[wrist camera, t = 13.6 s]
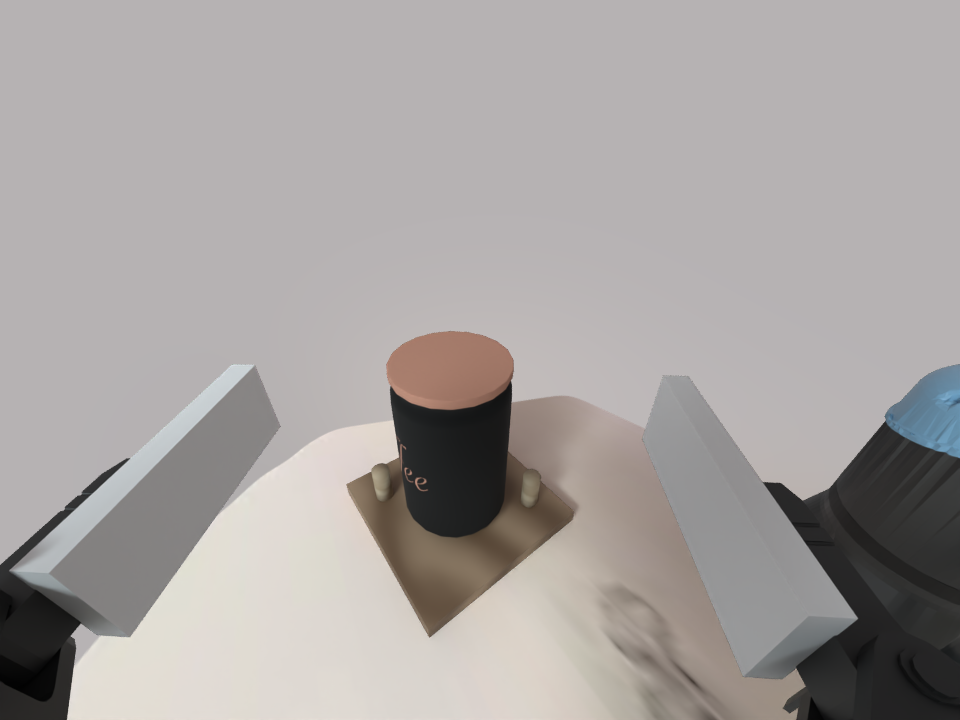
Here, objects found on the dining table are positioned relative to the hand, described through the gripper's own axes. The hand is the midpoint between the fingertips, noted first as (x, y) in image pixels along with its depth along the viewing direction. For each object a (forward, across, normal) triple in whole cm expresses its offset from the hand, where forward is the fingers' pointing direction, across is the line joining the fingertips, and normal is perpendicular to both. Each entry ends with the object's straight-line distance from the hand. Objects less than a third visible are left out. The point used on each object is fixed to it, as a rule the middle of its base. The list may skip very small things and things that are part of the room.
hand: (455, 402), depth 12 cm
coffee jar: (+16, -3, -27) cm, 32 cm away
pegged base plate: (+16, -3, -29) cm, 33 cm away
